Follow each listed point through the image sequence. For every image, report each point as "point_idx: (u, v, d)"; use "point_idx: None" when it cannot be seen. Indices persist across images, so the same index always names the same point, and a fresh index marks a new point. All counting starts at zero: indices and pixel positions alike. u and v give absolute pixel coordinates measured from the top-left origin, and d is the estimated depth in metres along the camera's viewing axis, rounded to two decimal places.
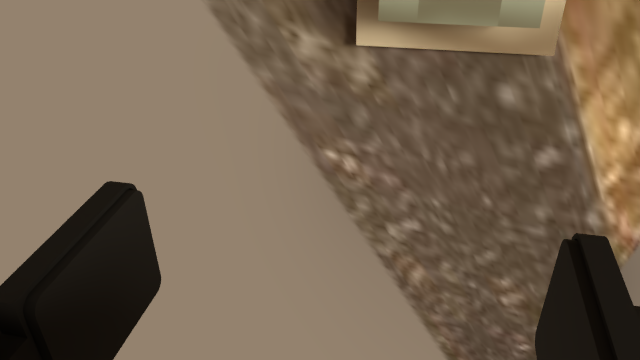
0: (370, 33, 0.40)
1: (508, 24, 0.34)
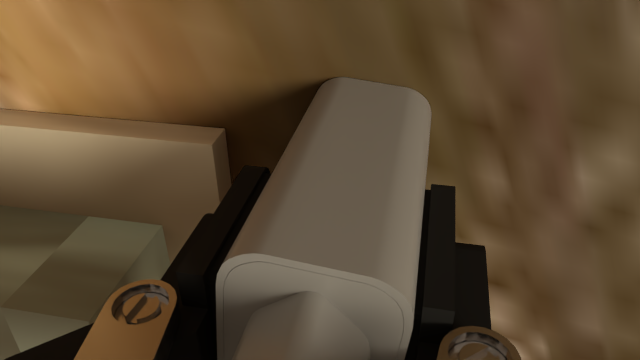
0: None
1: None
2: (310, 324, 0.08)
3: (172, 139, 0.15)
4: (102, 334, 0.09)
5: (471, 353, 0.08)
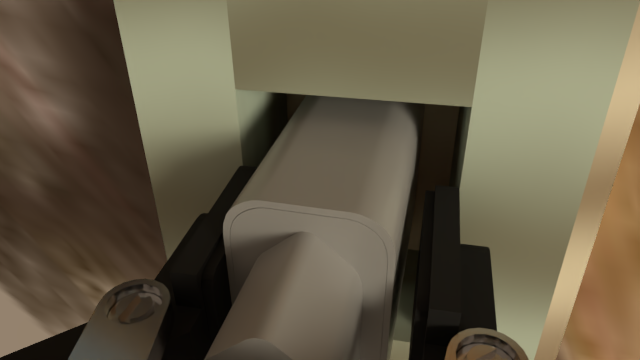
0: None
1: None
2: (302, 256, 0.09)
3: None
4: (95, 334, 0.09)
5: (479, 355, 0.08)
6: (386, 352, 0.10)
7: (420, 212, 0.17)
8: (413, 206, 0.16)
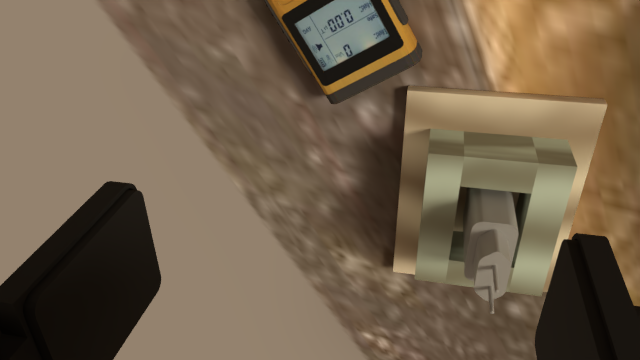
0: (405, 265, 0.49)
1: (517, 291, 0.43)
2: (497, 235, 0.36)
3: (589, 102, 0.38)
4: None
5: None
6: (511, 261, 0.38)
7: None
8: None
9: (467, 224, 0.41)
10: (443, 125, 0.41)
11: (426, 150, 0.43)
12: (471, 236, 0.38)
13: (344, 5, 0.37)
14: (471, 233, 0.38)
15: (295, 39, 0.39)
